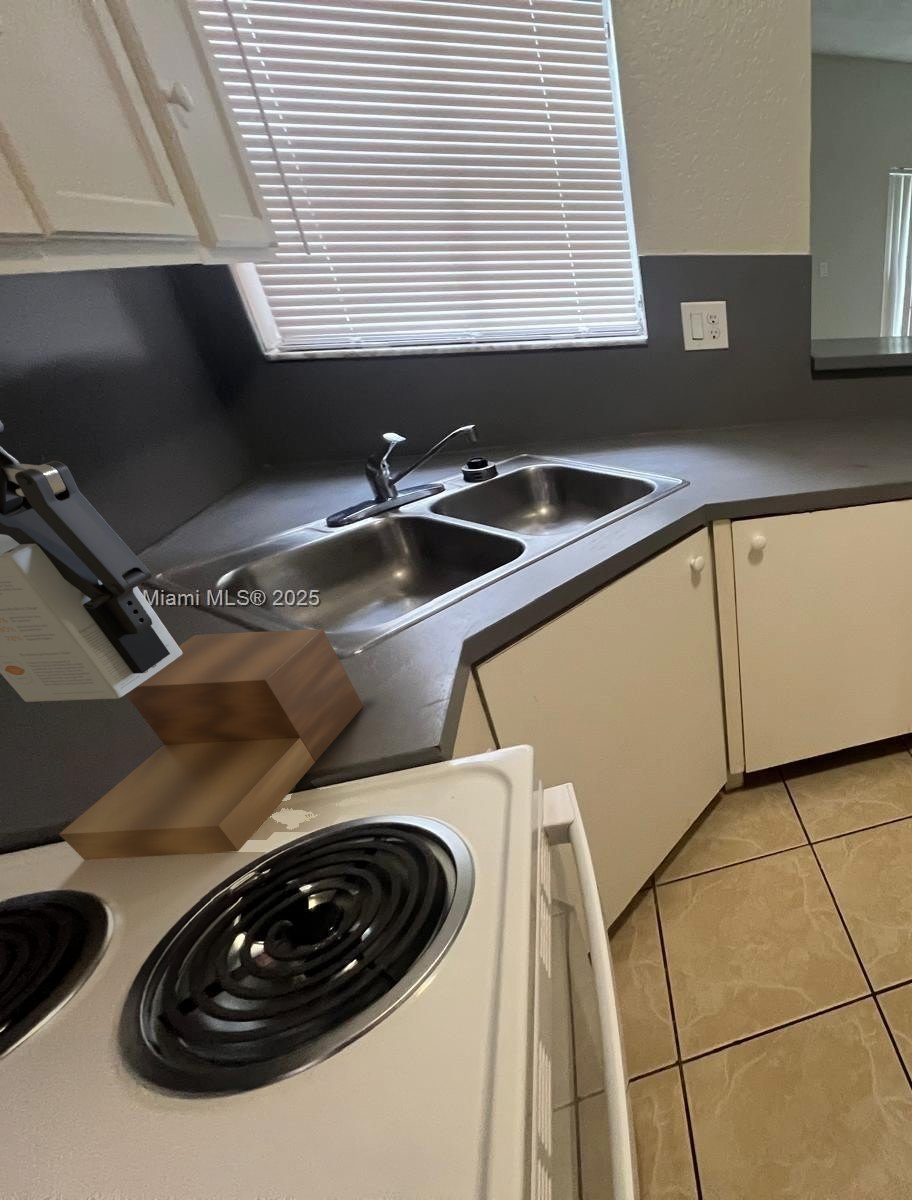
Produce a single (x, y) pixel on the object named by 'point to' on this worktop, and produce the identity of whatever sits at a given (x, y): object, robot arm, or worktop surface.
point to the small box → (59, 634)
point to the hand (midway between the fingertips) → (99, 666)
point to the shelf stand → (221, 744)
